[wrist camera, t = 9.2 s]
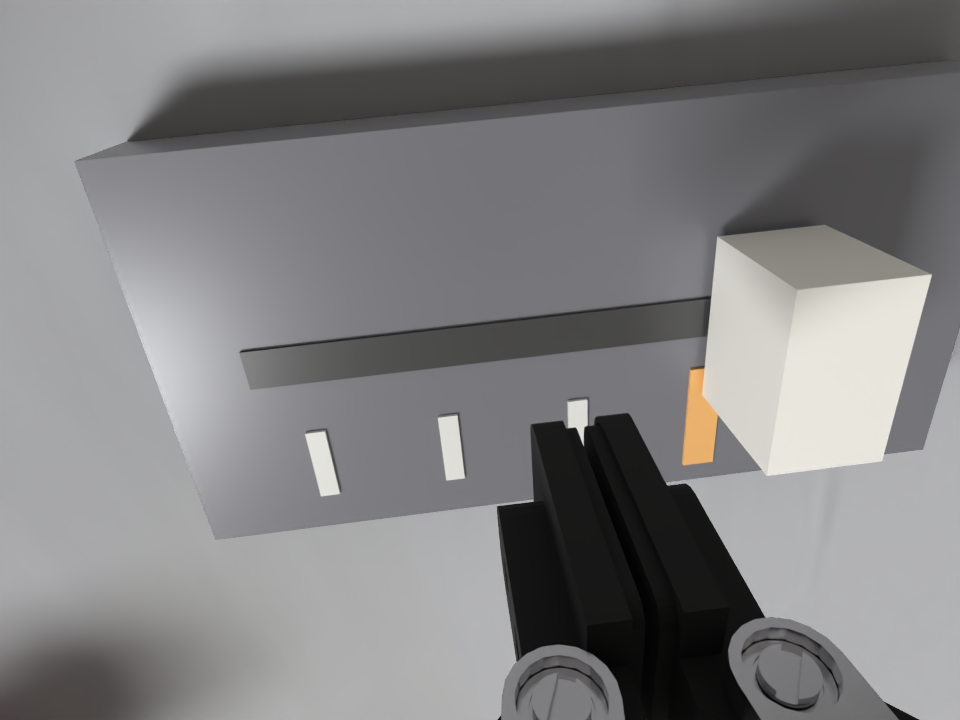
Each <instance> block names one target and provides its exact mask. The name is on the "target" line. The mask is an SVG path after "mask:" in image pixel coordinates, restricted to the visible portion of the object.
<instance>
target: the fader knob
mask: <svg viewBox="0 0 960 720" xmlns="http://www.w3.org/2000/svg"><path fill="white" fill-rule="evenodd" d="M931 276H932V274H930V273H928V272H926V271H924V270H921V269H919V268H917V267H915V266H913V265H911V264H909V263H906V262H904V261H902V260H900V259H898V258H896V257H893V256H891V255H889V254H887V253H885V252H883V251H881V250H878V249H876V248H874V247H872V246H870V245H868V244H865V243H863V242H861V241H859V240H857V239H855V238H852V237H850V236H848V235H846V234H844V233H842V232H840V231H837V230H835V229H833V228H831V227H829V226H827V225H817V226H808V227H799V228H790V229H781V230H772V231H763V232H754V233H745V234H736V235H727V236H718V237H717V244H716V255H715V265H714V276H713V286H712V296H711V307H710V317H709V328H708V338H707V348H706V359H705V369H704V380H703V390H702V396H703V397H704V398H705V399H706V401H707V402H708V403H709V404H710V406H711V407H712V408H713V409H714V411H715V412H716V413H717V414H718V416H719V417H720V418H721V419H722V421H723V422H724V423H725V424H726V426H727V427H728V428H729V429H730V431H731V432H732V433H733V434H734V436H735V437H736V438H737V439H738V441H739V442H740V443H741V444H742V446H743V447H744V448H745V449H746V451H747V452H748V453H749V454H750V456H751V457H752V458H753V459H754V461H755V462H756V463H757V464H758V466H759V467H760V468H761V469H762V471H763V472H764V473H765V474H766V476H770V475H778V474H786V473H793V472H801V471H809V470H817V469H825V468H832V467H840V466H848V465H856V464H863V463H871V462H879V461H882V459H883V456H884V452H885V448H886V445H887V441H888V437H889V433H890V430H891V426H892V422H893V418H894V415H895V411H896V407H897V403H898V400H899V396H900V392H901V388H902V385H903V381H904V377H905V374H906V370H907V366H908V362H909V359H910V355H911V351H912V347H913V344H914V340H915V336H916V332H917V329H918V325H919V321H920V317H921V314H922V310H923V306H924V303H925V299H926V295H927V291H928V288H929V284H930V280H931Z"/></svg>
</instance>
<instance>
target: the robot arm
mask: <svg viewBox="0 0 960 720" xmlns="http://www.w3.org/2000/svg"><path fill="white" fill-rule="evenodd" d="M530 435H531V455H532V476H533V496H534V502H529V503H521V504H512V505H504V506H497V515H498V526H499V538H500V548H501V557H502V565H503V573H504V580H505V587H506V594H507V601H508V607H509V614H510V621H511V627H512V634H513V641H514V647H515V654H516V661H517V663H515V664H514V666H513V667H512V669H511V671H510V673H509V674H508V676H507V678H506V679H505V684H504V689H503V694H502V710H501V716H500V718H499V719H498V720H919V719H917V718H915V717H913V716H911V715H909V714H907V713H905V712H903V711H901V710H899V709H897V708H895V707H893V706H891V705H889V704H888V703H886V702H884V701H883V700H882V699H881V698H880V697H879V695H878V694H877V693H876V692H875V691H874V689H873V688H872V687H871V686H870V685H869V683H868V682H867V681H866V680H865V679H864V677H863V676H862V675H861V674H860V673H859V672H858V670H857V669H856V668H855V667H854V666H853V664H852V663H851V662H850V661H849V660H848V658H847V657H846V656H845V655H844V654H843V652H842V651H841V650H840V649H838V648H837V647H836V646H835V645H834V644H833V643H832V642H831V641H830V640H829V639H828V638H827V637H825V636H824V635H822V634H820V633H819V632H817V631H816V630H814V629H812V628H811V627H809V626H806V625H803V624H801V623H798V622H795V621H793V620H789V619H782V618H774V617H769V618H765V616H764V614H763V613H762V611H761V609H760V607H759V606H758V604H757V602H756V600H755V599H754V597H753V595H752V593H751V592H750V590H749V588H748V586H747V584H746V583H745V581H744V579H743V577H742V576H741V574H740V572H739V570H738V569H737V567H736V565H735V563H734V562H733V560H732V558H731V556H730V554H729V553H728V551H727V549H726V547H725V546H724V544H723V542H722V540H721V539H720V537H719V535H718V533H717V532H716V530H715V528H714V526H713V524H712V523H711V521H710V519H709V517H708V516H707V514H706V512H705V510H704V509H703V507H702V505H701V503H700V502H699V500H698V498H697V496H696V494H695V493H694V491H693V490H692V489H691V487H690V486H688V485H687V484H678V485H670V486H667V485H666V483H665V481H664V479H663V477H662V475H661V473H660V471H659V469H658V467H657V465H656V463H655V461H654V460H653V458H652V456H651V454H650V452H649V450H648V448H647V446H646V444H645V442H644V440H643V438H642V436H641V434H640V433H639V431H638V429H637V427H636V425H635V423H634V421H633V419H632V417H631V416H630V414H628V413H622V414H613V415H605V416H597V417H595V420H594V425H592V426H585V427H584V446H583V443H582V441H581V438H580V435H579V433H578V430H577V428H576V427H574V428H566V427H565V424H564V422H563V421H562V420H561V421H553V422H544V423H536V424H531V427H530Z"/></svg>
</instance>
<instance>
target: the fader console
mask: <svg viewBox="0 0 960 720" xmlns="http://www.w3.org/2000/svg"><path fill="white" fill-rule="evenodd" d="M74 162H75V164H76V167H77V170H78V173H79V175H80V178H81V181H82V183H83V186H84V189H85V191H86V194H87V197H88V199H89V202H90V205H91V207H92V210H93V213H94V215H95V218H96V221H97V223H98V226H99V229H100V232H101V234H102V237H103V240H104V242H105V245H106V248H107V250H108V253H109V256H110V258H111V261H112V264H113V266H114V269H115V272H116V274H117V277H118V280H119V282H120V285H121V288H122V291H123V293H124V296H125V299H126V301H127V304H128V307H129V309H130V312H131V315H132V317H133V320H134V323H135V325H136V328H137V331H138V333H139V336H140V339H141V341H142V344H143V347H144V350H145V352H146V355H147V358H148V360H149V363H150V366H151V368H152V371H153V374H154V376H155V379H156V382H157V384H158V387H159V390H160V392H161V395H162V398H163V400H164V403H165V406H166V409H167V411H168V414H169V417H170V419H171V422H172V425H173V427H174V430H175V433H176V435H177V438H178V441H179V443H180V446H181V449H182V451H183V454H184V457H185V460H186V462H187V465H188V468H189V470H190V473H191V476H192V478H193V481H194V484H195V486H196V489H197V492H198V494H199V497H200V500H201V502H202V505H203V508H204V510H205V513H206V516H207V519H208V521H209V524H210V527H211V529H212V532H213V535H214V537H215V540H218V539H226V538H234V537H242V536H250V535H258V534H265V533H273V532H281V531H289V530H297V529H304V528H312V527H320V526H328V525H336V524H343V523H351V522H359V521H367V520H375V519H383V518H390V517H398V516H406V515H414V514H422V513H429V512H437V511H445V510H453V509H461V508H468V507H476V506H484V505H492V504H500V503H508V502H515V501H523V500H531V499H534V496H533V476H532V455H531V435H530V427H531V424H536V423H544V422H553V421H561V420H562V421H563V422H564V424H565V427H566V428H574V427H576V428H577V430H578V433H579V435H580V438H581V441H582V443H583V446H584V427H585V426H592V425H594V420H595V417H597V416H605V415H613V414H622V413H628V414H630V416H631V417H632V419H633V421H634V423H635V425H636V427H637V429H638V431H639V433H640V434H641V436H642V438H643V440H644V442H645V444H646V446H647V448H648V450H649V452H650V454H651V456H652V458H653V460H654V461H655V463H656V465H657V467H658V469H659V471H660V473H661V475H662V477H663V479H664V481H665V482H672V481H679V480H687V479H695V478H703V477H711V476H718V475H726V474H734V473H742V472H750V471H758V470H762V469H761V468H760V467H759V466H758V464H757V463H756V462H755V461H754V459H753V458H752V457H751V456H750V454H749V453H748V452H747V451H746V449H745V448H744V447H743V446H742V444H741V443H740V442H739V441H738V439H737V438H736V437H735V436H734V434H733V433H732V432H731V431H730V429H729V428H728V427H727V426H726V424H725V423H724V422H723V421H722V419H721V418H720V417H719V416H718V414H717V413H716V412H715V411H714V409H713V408H712V407H711V406H710V404H709V403H708V402H707V401H706V399H705V398H704V397H703V396H702V390H703V380H704V369H705V359H706V348H707V338H708V328H709V317H710V307H711V296H712V286H713V276H714V265H715V255H716V244H717V237H718V236H727V235H736V234H745V233H754V232H763V231H772V230H781V229H790V228H799V227H808V226H817V225H827V226H829V227H831V228H833V229H835V230H837V231H840V232H842V233H844V234H846V235H848V236H850V237H852V238H855V239H857V240H859V241H861V242H863V243H865V244H868V245H870V246H872V247H874V248H876V249H878V250H881V251H883V252H885V253H887V254H889V255H891V256H893V257H896V258H898V259H900V260H902V261H904V262H906V263H909V264H911V265H913V266H915V267H917V268H919V269H921V270H924V271H926V272H928V273H930V274H932V276H931V280H930V284H929V288H928V291H927V295H926V299H925V303H924V306H923V310H922V314H921V317H920V321H919V325H918V329H917V332H916V336H915V340H914V344H913V347H912V351H911V355H910V359H909V362H908V366H907V370H906V374H905V377H904V381H903V385H902V388H901V392H900V396H899V400H898V403H897V407H896V411H895V415H894V418H893V422H892V426H891V430H890V433H889V437H888V441H887V445H886V448H885V452H884V454H890V453H898V452H906V451H914V450H922V449H923V447H924V444H925V441H926V437H927V434H928V431H929V427H930V424H931V421H932V417H933V414H934V411H935V407H936V404H937V401H938V398H939V394H940V391H941V388H942V384H943V381H944V378H945V374H946V371H947V368H948V364H949V361H950V358H951V354H952V351H953V348H954V345H955V341H956V338H957V335H958V331H959V328H960V61H958V60H946V61H936V62H926V63H916V64H906V65H896V66H886V67H876V68H865V69H855V70H845V71H835V72H825V73H815V74H805V75H795V76H785V77H775V78H765V79H755V80H745V81H735V82H725V83H714V84H704V85H694V86H684V87H674V88H664V89H654V90H644V91H634V92H624V93H614V94H604V95H594V96H584V97H574V98H564V99H553V100H543V101H533V102H523V103H513V104H503V105H493V106H483V107H473V108H463V109H453V110H443V111H433V112H423V113H413V114H402V115H392V116H382V117H372V118H362V119H352V120H342V121H332V122H322V123H312V124H302V125H292V126H282V127H272V128H262V129H252V130H241V131H231V132H221V133H211V134H201V135H191V136H181V137H171V138H161V139H151V140H141V141H131V142H124V143H122V144H119V145H116V146H114V147H111V148H108V149H106V150H103V151H100V152H98V153H95V154H92V155H90V156H87V157H84V158H82V159H79V160H76V161H74Z"/></svg>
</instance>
